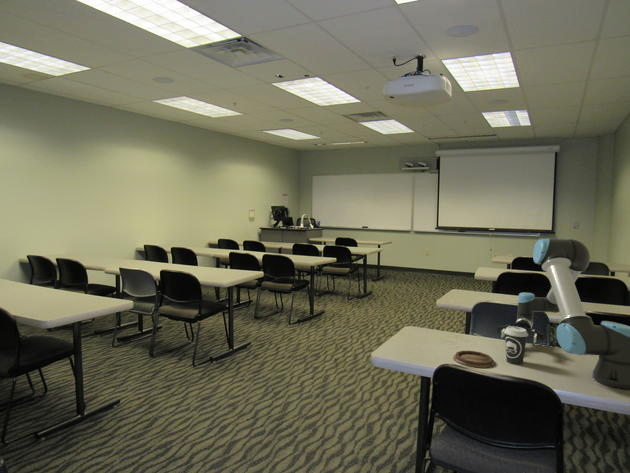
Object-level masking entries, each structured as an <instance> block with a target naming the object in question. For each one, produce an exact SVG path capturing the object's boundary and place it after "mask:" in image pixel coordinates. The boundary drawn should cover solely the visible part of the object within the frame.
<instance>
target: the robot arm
mask: <svg viewBox="0 0 630 473" xmlns="http://www.w3.org/2000/svg"><path fill="white" fill-rule="evenodd" d="M532 258H533V262H534V264H537V265H540V266H541V269H542V270H543V271H544V272H545V273H546V274H547V275H548V279H549V281H550V282H549V283H550V284H551V288H550V289H549V291H548V293H547V295H546V297H542V296H541V297H539V296H536V295H535V294H534V293H532V292H524V291H523V292H520V293H518V296H517V298H518V299H517V314H516V315H517V316H516V322H514V325H512V326H511V325H510V324H506V325H500V326H498V327H496V333H499V335H500V338H501V339H502V338H504V337H505V333H504V331H505V329H506V328H507V327H520V328H524V329H526V331H527V333H528V336H527V337H531V338H533V344H536V343H537V341H540V340H541V341H545V334H544V333H542V332H541V331H540V330H538V329H537V328H534V329H533V326H534V323H535V322H534V321H535V320H534V314H535V312H536V313H537V312H538V313H542V312H543V313H553V314H555V313H559V314H560V316H561V319H560V320H559V322H558V323H559V325H558V326H557V327H556V332H555V333H556V340H557V342H558V344H559V346H560V347H561V349H562V350H563V351H564V352H566V353H568V354H572V355H573V354H574V355H577V356H582V355H583V356H598V360H597V362H596V365H595V366H594V369H593V370H592V379H593V378H594V379H595V381H596V380H597V381H596V382H598V383H600V382H601V383H600V384H602V383H603V384H602V385H604V384H605V386H607V385H608V387H612V388H615V387H617V389H620V388H623V389H622V390H628V389H630V326H629V325H626V324H623V323H618V322H615V321H609V320H602V321H601V322H600V323H599V324H598V325H597V324H594V322H593V319H592V317H591V316H589V315H587V314H586V312H585V309H584V307H583V304H582V301H581V298H580V295H579V292H578V290H577V287H576V284H575V283H576V281H577V279H579V276H581V273H582V272H585V271H586V270H587V268H588V267H589V265H590V261H591V255H590V251H589V248H588V247H587V246H586V244H584V243H583V242H582V241H580V240H577V239H573V238H572V239H564V238H562V239H561V238H559V239H558V238H557V239H556V238H554V239H553V238H541V239H539V240H537V241H536V243H535V245H534V248H533V250H532ZM594 379H593V380H594Z"/></svg>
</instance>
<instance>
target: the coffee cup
mask: <svg viewBox="0 0 630 473" xmlns="http://www.w3.org/2000/svg"><path fill="white" fill-rule="evenodd" d="M504 333H505V335H504V337H505V353H506V354H505V358H506V362H507V363H509V364H511V365H516V366H521V365H524V357H525V352H526V344H527V338H528V337H529V336H528V333H527V331H526V329H524V328H520V327H512V326H511V327H507V328H506V329H505V331H504Z"/></svg>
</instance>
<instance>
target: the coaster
mask: <svg viewBox="0 0 630 473" xmlns="http://www.w3.org/2000/svg"><path fill="white" fill-rule="evenodd" d="M453 360H454V362H456V363H457V364H459V365H462V366H466V367H470V368H474V369H488V368H491V367H492V368H493V367H494V366H495V360H494V359H493V357H492V356H491V355H489V354H486V353H484V352H481V351H477V350H476V351H475V350H460V351H457V352H456V353H455V354H454V355H453Z"/></svg>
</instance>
